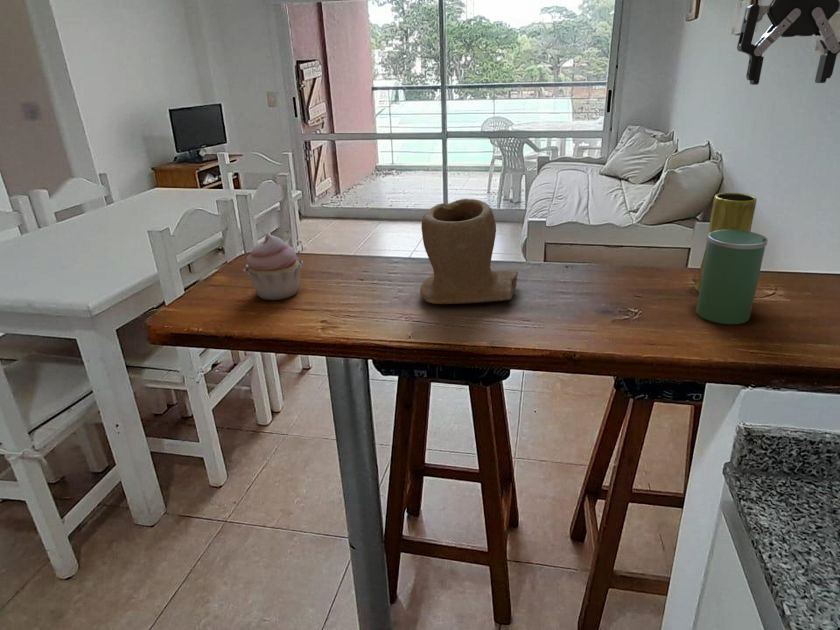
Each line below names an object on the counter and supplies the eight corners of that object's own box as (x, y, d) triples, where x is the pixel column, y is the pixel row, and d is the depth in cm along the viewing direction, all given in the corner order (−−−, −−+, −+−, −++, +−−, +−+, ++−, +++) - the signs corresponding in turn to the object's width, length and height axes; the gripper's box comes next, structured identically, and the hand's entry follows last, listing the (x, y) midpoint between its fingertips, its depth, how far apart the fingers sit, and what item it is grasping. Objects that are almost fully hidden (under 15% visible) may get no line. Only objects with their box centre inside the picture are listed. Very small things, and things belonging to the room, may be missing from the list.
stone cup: (417, 317, 82) (413, 214, 76) (422, 285, 93) (418, 193, 86) (524, 315, 81) (528, 211, 75) (516, 284, 92) (519, 190, 85)
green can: (743, 305, 81) (759, 230, 76) (756, 326, 75) (774, 246, 70) (691, 302, 82) (703, 228, 78) (700, 323, 76) (714, 244, 72)
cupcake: (246, 288, 95) (235, 230, 91) (302, 279, 98) (294, 222, 93) (250, 309, 87) (239, 246, 83) (311, 298, 90) (303, 237, 85)
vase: (704, 280, 90) (720, 189, 84) (746, 290, 86) (767, 195, 80) (688, 292, 86) (704, 197, 80) (731, 302, 82) (751, 204, 76)
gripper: (762, -48, 74) (738, 86, 81) (890, -58, 71) (854, 83, 78) (747, -40, 81) (726, 83, 87) (863, -49, 77) (832, 80, 84)
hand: (786, 83), depth 83 cm, fingers open, 8 cm apart
